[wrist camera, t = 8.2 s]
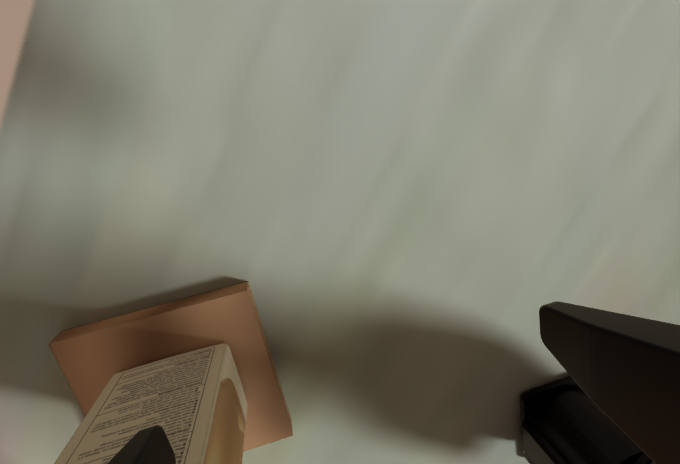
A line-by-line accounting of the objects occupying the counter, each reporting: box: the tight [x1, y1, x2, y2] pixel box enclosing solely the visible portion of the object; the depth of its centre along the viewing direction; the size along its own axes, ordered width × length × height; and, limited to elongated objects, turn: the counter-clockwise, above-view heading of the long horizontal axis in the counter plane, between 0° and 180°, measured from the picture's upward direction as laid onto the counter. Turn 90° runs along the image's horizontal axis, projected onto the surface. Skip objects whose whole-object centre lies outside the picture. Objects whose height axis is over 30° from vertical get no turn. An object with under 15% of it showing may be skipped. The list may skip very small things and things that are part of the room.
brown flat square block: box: [49, 281, 293, 451], centre depth 22 cm, size 10×10×2 cm
